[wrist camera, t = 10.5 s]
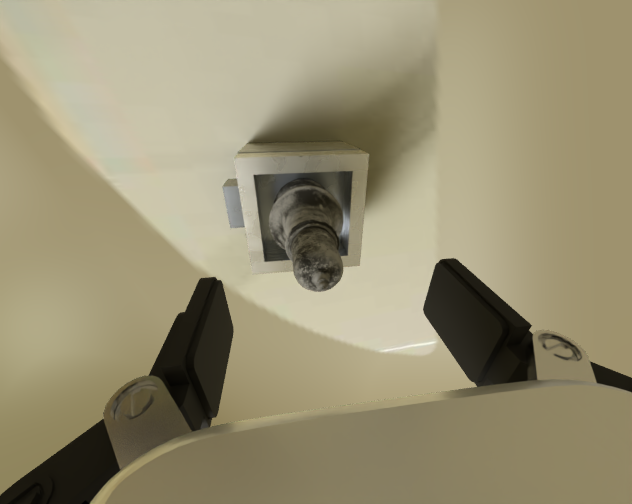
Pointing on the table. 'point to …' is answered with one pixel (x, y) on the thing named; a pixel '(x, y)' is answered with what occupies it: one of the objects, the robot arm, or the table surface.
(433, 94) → the table surface
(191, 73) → the table surface
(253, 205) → the grey open box
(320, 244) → the dark grey turned piece
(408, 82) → the table surface
